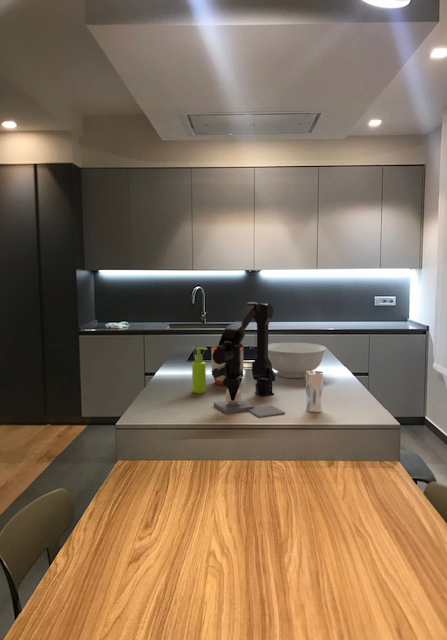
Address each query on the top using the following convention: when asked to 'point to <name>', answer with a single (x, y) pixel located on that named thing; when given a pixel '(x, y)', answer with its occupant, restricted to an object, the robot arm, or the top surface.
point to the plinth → (233, 406)
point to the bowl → (295, 358)
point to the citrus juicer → (214, 365)
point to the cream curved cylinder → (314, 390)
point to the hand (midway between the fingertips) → (233, 398)
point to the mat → (266, 411)
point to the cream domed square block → (237, 398)
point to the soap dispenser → (199, 373)
